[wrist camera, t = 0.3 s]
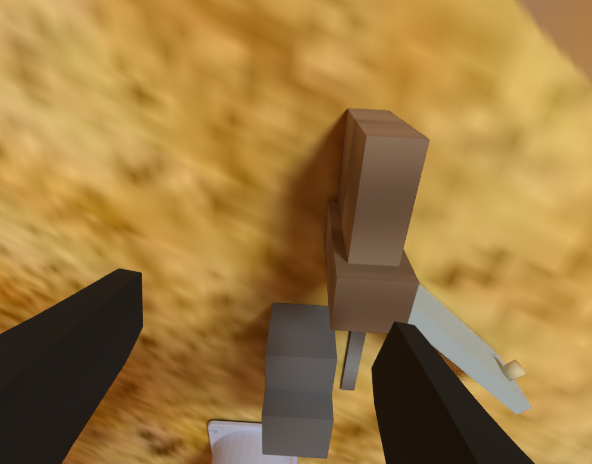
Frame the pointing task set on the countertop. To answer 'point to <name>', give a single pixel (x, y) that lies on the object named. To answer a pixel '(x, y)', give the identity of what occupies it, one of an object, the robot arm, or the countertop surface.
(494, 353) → the pale grey bar
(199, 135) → the countertop surface
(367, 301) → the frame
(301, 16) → the countertop surface
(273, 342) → the stepped block
